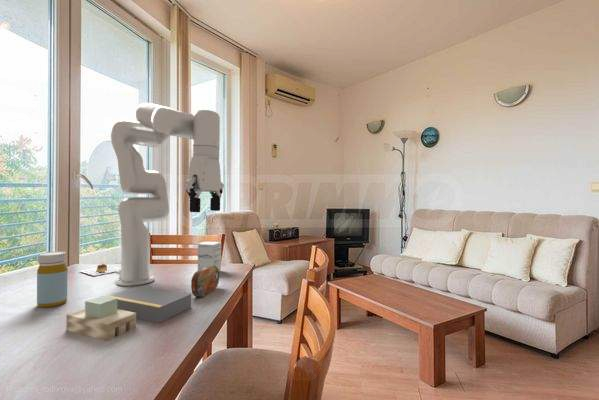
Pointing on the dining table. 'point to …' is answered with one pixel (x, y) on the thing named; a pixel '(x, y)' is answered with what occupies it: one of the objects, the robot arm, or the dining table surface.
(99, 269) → the dessert
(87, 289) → the dining table surface
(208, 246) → the supplement box
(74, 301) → the dining table surface
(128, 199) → the robot arm
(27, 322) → the dining table surface
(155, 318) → the dock
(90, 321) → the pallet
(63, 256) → the bottle
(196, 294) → the tin
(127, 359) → the dining table surface
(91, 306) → the box
